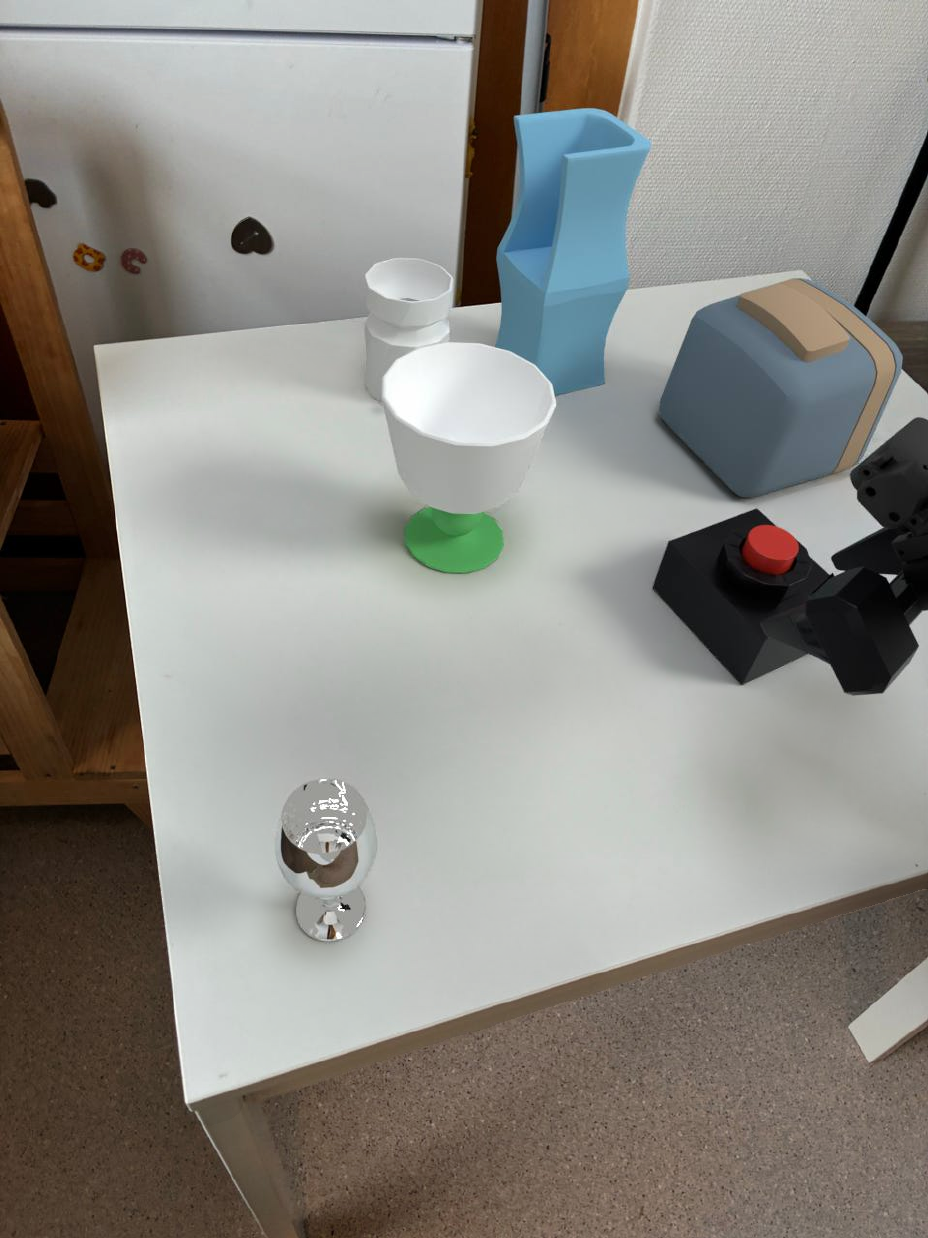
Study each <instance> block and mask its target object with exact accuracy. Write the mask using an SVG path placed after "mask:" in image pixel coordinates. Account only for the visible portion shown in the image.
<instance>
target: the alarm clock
mask: <svg viewBox="0 0 928 1238" xmlns="http://www.w3.org/2000/svg"><path fill="white" fill-rule="evenodd" d="M903 357H904V356H903V354H902V352H901V350H900V349H899V347H898V345H897V344H896V342H894V340H892V338H890V337H889V336H888V335H887V334H886V333H885V332H884V331H883V330H882V329H881V328H880V327H879V326H878V325H876V324H875V322H873V321H872V320H871V319H869V317H868V316H867V315H865V314H864V313H862V312H861V311H860V310H859V309H858V308H857V307H855V306H854V305H853V304H852V303H850V302H849V301H846V300H845V299H844V298H842V297H840V296H839V295H837V294H835V293H834V292H833V291H831V290H830V289H828V288H826V287H824V286H822V285H820V284H819V283H816V282H815V281H812V280H811V279H808V278H801V277H798V278H797V277H793V278H789V279H786V280H783V281H780V282H777V283H776V282H775V283H774V284H770V285H767V286H762V287H759V288H756V289H753V290H748V291H746V292H742V293H740V294H738V295H735V296H732V297H729V298H726V299H723V300H719V301H716V302H712V303H710V304H708V305H706V306H703V307H702V308H700V309H699V310H697V311H696V312H695V314H694V315H693V317H692V318H691V320H690V322H689V325H688V328H687V330H686V334H685V335H684V338H683V341H682V343H681V345H680V348H679V351H678V353H677V355H676V358H675V361H674V363H673V366H672V369H671V371H670V374H669V376H668V378H667V381H666V383H665V387H664V389H663V391H662V394H661V396H660V399H659V404H658V414H659V415H660V417H661V419H662V421H663V423H665V425H667V427H669V428H670V430H672V431H673V433H674V434H676V436H677V437H678V438H679V439H680V440H681V441H682V442H683V443H684V444H685V445H686V446H687V447H688V448H689V449H690V450H691V451H692V453H694V454H695V455H696V456H697V457H698V458H699V459H700V460H701V461H702V462H703V463H704V464H705V466H707V468H709V469H710V471H712V472H713V473H714V474H715V476H717V477H718V479H719V480H720V481H721V482H722V483H724V484H725V486H726V487H727V488H728V489H729V490H730V491H731V492H732V493H733V494H734V495H736V496H738V497H741V498H755V497H759V496H762V495H766V494H769V493H773V492H776V491H780V490H782V489H785V488H790V487H792V486H795V485H798V484H802V483H806V482H808V481H812V480H815V479H818V478H819V479H820V478H823V477H826V476H829V475H832V474H835V473H839V472H842V471H845V470H849V469H851V468H854V467H856V466H857V465H859V464H860V463H861V460H862V459H864V457H865V454H866V452H867V449H868V448H869V446H870V443H871V441H872V439H873V436H874V435H875V432H876V430H877V428H878V425H879V423H880V421H881V418H882V416H883V414H884V412H885V409H886V407H887V405H888V403H889V400H890V398H891V396H892V394H893V392H894V389H895V386H896V385H897V383H898V381H899V378H900V376H901V373H902V368H903V360H904V359H903Z"/></svg>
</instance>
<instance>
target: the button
mask: <svg viewBox="0 0 928 1238" xmlns="http://www.w3.org/2000/svg"><path fill="white" fill-rule="evenodd" d="M776 526H777V525H776ZM776 526H772V525H760V526H757V527H755V528H753V529H752V530H751V531H750V532H749V534H748V537H747V539H746V541H745V544H744V546H743V548H742V556H743V559H744V560H745V561H746V562H747V563H748V564H749V565H750V566H751V567H752V568H754V569H756V570H759V571H761V572H763V573H766V574H777V575H779V574H783V573H785V572H786V571H788V570H789V568H790V567H791V565H792V563H793V561H794V559H795V557H796V555H797V553H798V549H799V547H798V543H797V541H796V540H797V538H795V536H794V535H792V533H791V532H789V531H787V530H786V529H784V528H782V527H779V526H777V527H776Z"/></svg>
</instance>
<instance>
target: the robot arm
mask: <svg viewBox="0 0 928 1238" xmlns="http://www.w3.org/2000/svg"><path fill="white" fill-rule="evenodd" d="M849 480H850V483H851V485H852V487H853V488H854V489H855V490H856V500H857V502H858V503H859V504H860V505H861V506H862V507H863V508H864V509H865V510H866V512H868V513H869V514H870V516H871V517H872V518H873V519H874V520H875V521H876V522H877V523H878V524H879V525H880V526H881V527H882V528H880V529H877V530H876V531H874V532H872V533H871V534H869V535H867V536H865V537H862V538H861V539H859V540H857V541H855V542H853V543H852V544H849V545H848V546H846V547H844V548H842V549H841V550H838V551H836V552H835V553H833V555H831V557H830V560H831V562H832V564H833V566H834V568H835V570H837V571H842V572H840V573H839V574H838V573H837V574H836V575H835V574H834V572H832V573H831V572H830V574H829V576H828V577H827V578H826V579H825V580H824V581H823V582H822V583H821V584H820V585H819V586H818V587H817V588H815V589H814V590H813V591H812V592H811V593H810V595H809V596H808V599H807V600H806V604H803V605H800V606H797V607H794V608H792V609H789V610H786V611H783V612H781V613H778V614H775V615H773V616H771V617H768V618H766V619H764V620H763V621H761V623H760V625H761V627H762V629H763V631H764V633H765V635H766V636H767V637H769V638H772V639H774V640H777V641H779V642H781V643H784V644H786V645H788V646H791V647H793V648H796V649H798V650H800V651H803V652H805V653H807V655H810V656H812V657H814V658H816V659H818V660H821V661H822V662H823V663H824V662H825V663H826V664H827V665H830V667H831V670H832V671H833V673H834V675H835V677H836V679H837V681H838V683H839V685H840V687H841V689H842V691H843V693H844V694H846V695H849V696H853V697H854V696H869V695H880V694H884V693H885V692H886V691H887V689H888V688H889V687H890V686H891V684H893V683H894V681H895V680H897V678H898V677H899V676H900V674H901V673H902V672H903V671H904V670H905V669H906V668H907V666H908V665H909V664H910V663H911V661H912V660H913V658H914V656H915V654H916V653H917V651H918V649H919V647H920V645H919V643H918V641H917V638H916V636H915V634H914V632H913V630H912V627H911V625H912V623H913V622H914V621H916V619H917V618H918V617H919V616H920V615H921V614H922V612H927V611H928V419H927V418H925V417H921V416H919V417H914V418H912V420H910V421H909V422H908V423H907V424H905V425H904V426H903V427H901V428H900V429H899V430H898V431H897V432H895V434H893V435H892V436H890V437H889V438H888V439H887V440H885V442H884V443H882V444H881V445H880V446H878V448H876V449H875V450H874V451H873V452H872V453H870V454H869V455H868V456H867V457H866V458H864V459H863V460H862V461H860V462H859V463H858V464H857V465H855V466H854V467H853V469H852V470H850V473H849ZM884 575H889V576H895V577H894V578H893V579H892V580H891V581H890V582H889V580H888V578H887V577H886V576H884Z"/></svg>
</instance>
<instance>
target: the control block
mask: <svg viewBox="0 0 928 1238" xmlns="http://www.w3.org/2000/svg"><path fill="white" fill-rule="evenodd" d="M760 525H772V526H776V527H778V525H776V524H775V523H774V522H773V521H772V520H771V519H770V518H769V517H767V516H766V515H765V514H764V513H763V512H762V511H760V509H759V508H757V507H756V508H753V509H751V510H749V511H745V512H744V513H740V514H737V515H735V516H733V517H729V518H727V519H724V520H722V521H719V522H716V523H714V524H711V525H709V526H706V527H703V528H700V529H697V530H695V531H693V532H690V533H687V534H683V535H682V536H679V537H677V538H676V537H675V538H673V539H671V540H668V541H667V543H666V547H665V550H664V553H663V556H662V558H661V562H660V563H659V567H658V570H657V573H656V575H655V579H654V581H653V584H652V587H651V588H652V589H653V591H655V592H656V594H657V595H659V597H660V598H661V599H662V600H663V601H664V602H665V604H666V605H667V606H668V607H669V608H670V609H671V610H672V611H673V612H674V613H675V614H676V616H677V617H679V619H680V620H681V621H682V622H683V623H684V624H685V625H686V626H687V627H688V628H689V630H691V632H692V633H693V634H694V635H695V636H696V637H697V638H698V640H700V641H701V643H702V644H703V645H704V646H705V648H707V649H708V650H709V651H710V652H711V653H712V655H713V656H714V657H715V658H716V659H717V660H718V661H719V662H720V663H721V665H723V666H724V667H725V669H726V670H727V671H728V672H729V673H730V675H732V677H734V678H735V679H736V681H737V682H738V683H739V684H740V685H742V686H743V685H745V684H747V683H749V682H751V681H754V680H756V679H758V678H760V677H762V676H765V675H766V674H769V673H771V672H773V671H775V670H777V669H779V668H781V667H783V666H786V665H788V664H790V663H792V662H794V661H796V660H798V659H801V658H803V657H805V656H807V655H808V654H807V653H805V652H803V651H800V650H798V649H796V648H793V647H791V646H788V645H786V644H784V643H781V642H779V641H777V640H774V639H772V638H769V637H767V636H766V635H765V633H764V631H763V629H762V627H761V625H760V623H761V621H763V620H764V619H766V618H768V617H771V616H773V615H775V614H778V613H781V612H783V611H786V610H789V609H792V608H794V607H797V606H800V605H803V604H806V600H807V599H808V596H809V595H810V593H811V592H812V591H813V590H814V589H815V588H817V587H818V586H819V585H820V584H821V583H822V582H823V581H824V580H825V579H826V578H827V577H828V576H829V575H830V574H829V572H827V571H826V569H824V568H823V567H822V566H821V565H820V564H818V563H817V561H816V560H814V559H813V558H812V557H811V556H810V554H809V551H808V549H807V548H806V547H805V546H804V545H803V544H802V543H801V542H800V541H799V540H797V539H796V541H797V543H798V547H799V549H798V553H797V555H796V557H795V559H794V561H793V563H792V565H791V567H790V568H789V570H788V571H786V572H785V573H783V574H779V575H777V574H766V573H763V572H761V571H759V570H756V569H754V568H752V567H751V566H750V565H749V564H748V563H747V562H746V561H745V560H744V559H743V556H742V548H743V546H744V544H745V541H746V539H747V537H748V534H749V532H750V531H751V530H752V529H753V528H755V527H757V526H760Z"/></svg>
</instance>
